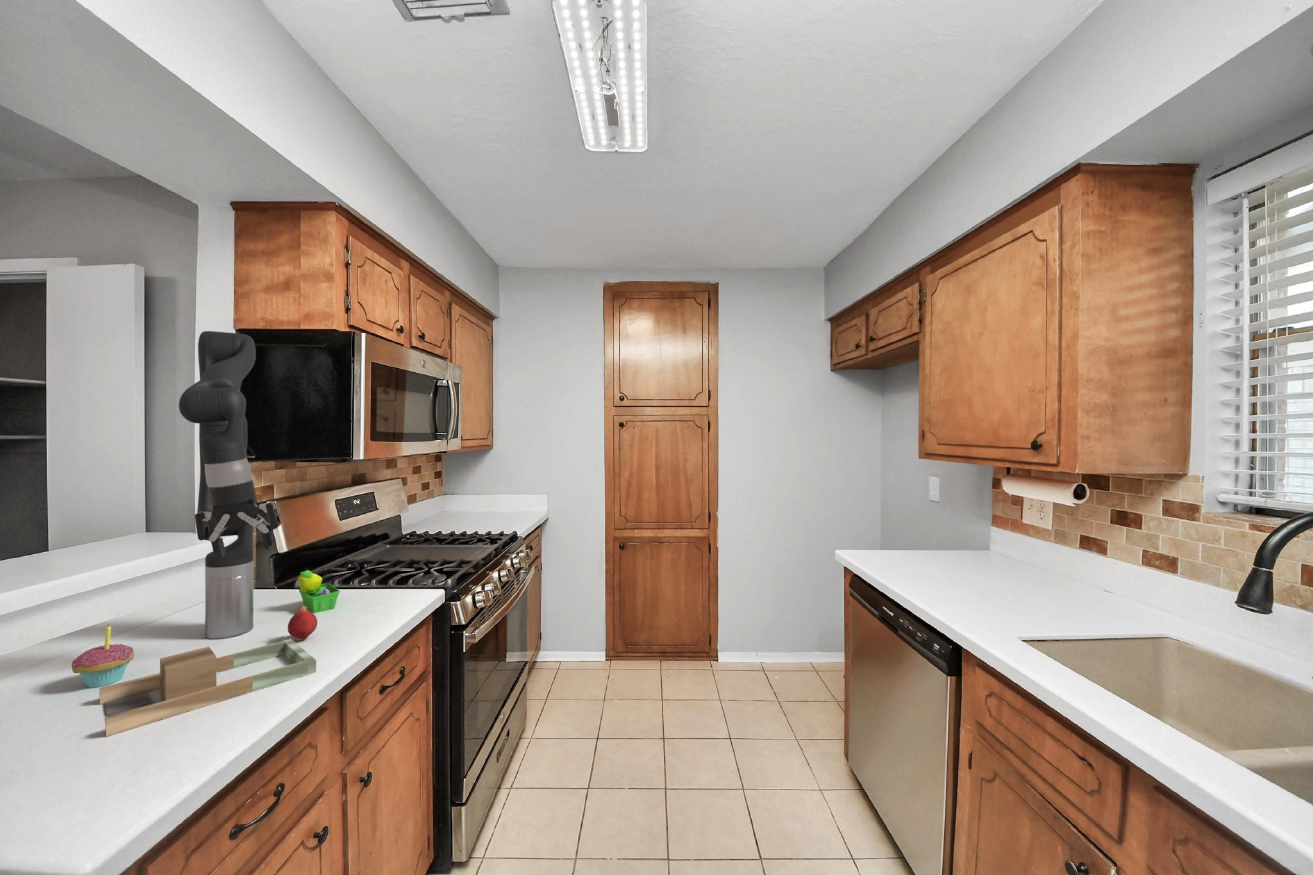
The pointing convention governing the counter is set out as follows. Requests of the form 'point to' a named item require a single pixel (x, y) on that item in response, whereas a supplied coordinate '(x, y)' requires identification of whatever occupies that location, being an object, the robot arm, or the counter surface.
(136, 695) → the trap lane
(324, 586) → the fruit basket
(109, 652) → the cupcake
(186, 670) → the walnut block
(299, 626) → the onion
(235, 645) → the counter surface
